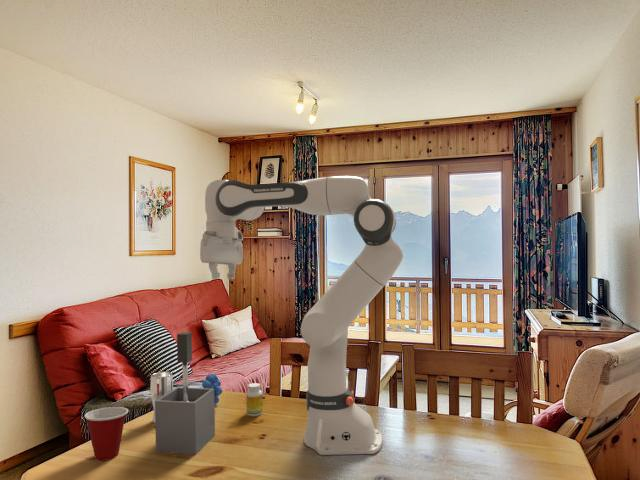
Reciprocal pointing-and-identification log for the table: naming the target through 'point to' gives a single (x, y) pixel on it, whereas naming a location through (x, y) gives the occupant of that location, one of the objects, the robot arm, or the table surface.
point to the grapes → (213, 386)
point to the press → (184, 421)
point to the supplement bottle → (254, 400)
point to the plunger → (184, 358)
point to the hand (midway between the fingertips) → (223, 278)
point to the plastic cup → (106, 431)
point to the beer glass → (160, 386)
